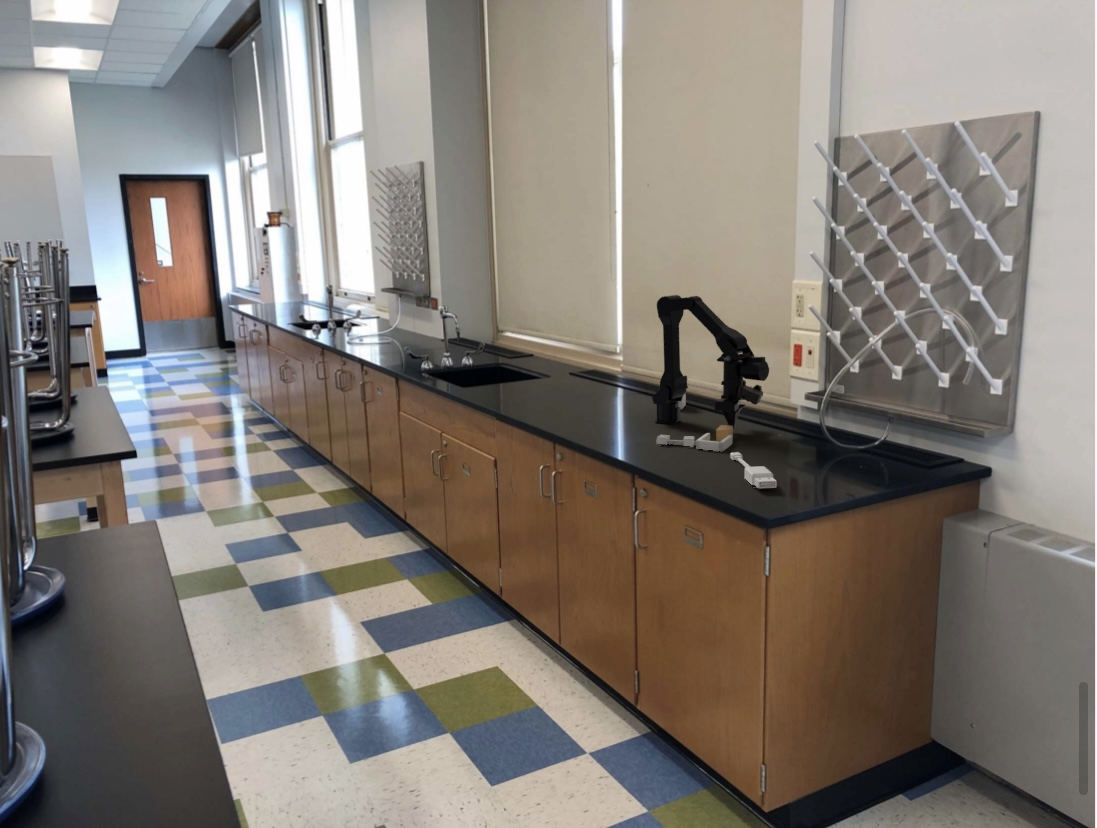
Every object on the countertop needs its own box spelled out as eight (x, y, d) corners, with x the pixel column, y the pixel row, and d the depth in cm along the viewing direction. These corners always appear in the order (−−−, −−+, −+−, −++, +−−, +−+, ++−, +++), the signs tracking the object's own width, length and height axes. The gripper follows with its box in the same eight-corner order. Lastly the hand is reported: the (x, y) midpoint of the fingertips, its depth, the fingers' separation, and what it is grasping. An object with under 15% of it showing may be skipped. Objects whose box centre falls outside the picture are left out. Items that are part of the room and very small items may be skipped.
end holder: (695, 449, 237) (695, 440, 237) (706, 441, 246) (706, 433, 245) (722, 451, 234) (722, 442, 233) (732, 443, 242) (732, 435, 242)
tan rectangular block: (716, 441, 246) (716, 429, 245) (720, 436, 252) (720, 424, 251) (728, 442, 245) (728, 430, 244) (732, 437, 250) (732, 425, 249)
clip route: (654, 444, 243) (654, 436, 243) (660, 441, 247) (660, 433, 247) (695, 448, 238) (695, 440, 237) (701, 445, 242) (701, 436, 241)
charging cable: (743, 459, 229) (743, 447, 229) (778, 491, 198) (778, 477, 197) (724, 460, 229) (724, 448, 229) (756, 492, 197) (756, 477, 197)
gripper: (751, 384, 240) (750, 438, 243) (768, 373, 256) (767, 424, 259) (713, 382, 245) (712, 435, 248) (732, 371, 261) (731, 421, 264)
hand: (732, 429), depth 255 cm, fingers closed
